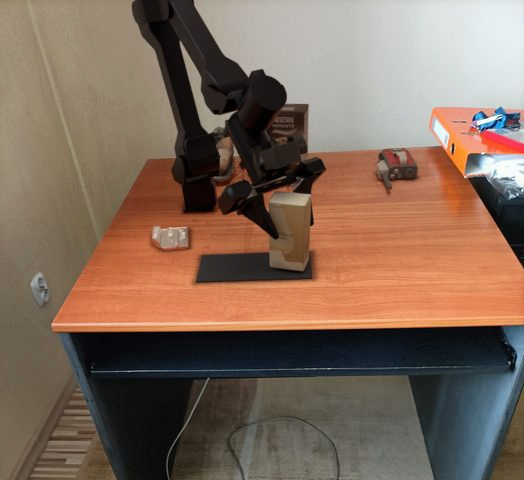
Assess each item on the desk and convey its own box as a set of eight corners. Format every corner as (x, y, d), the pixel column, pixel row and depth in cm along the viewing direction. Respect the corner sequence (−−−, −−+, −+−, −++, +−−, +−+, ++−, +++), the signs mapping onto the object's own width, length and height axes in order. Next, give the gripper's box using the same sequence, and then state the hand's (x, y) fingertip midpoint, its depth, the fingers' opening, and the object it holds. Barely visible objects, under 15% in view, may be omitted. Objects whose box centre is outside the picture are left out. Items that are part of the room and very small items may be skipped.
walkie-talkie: (369, 160, 127) (384, 194, 111) (371, 142, 124) (386, 174, 108) (405, 158, 126) (425, 192, 111) (408, 140, 123) (428, 172, 108)
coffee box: (265, 185, 119) (261, 111, 108) (271, 174, 124) (267, 102, 113) (304, 186, 117) (304, 111, 106) (308, 175, 122) (309, 102, 111)
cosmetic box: (269, 267, 89) (265, 201, 81) (275, 255, 92) (273, 190, 84) (305, 272, 88) (305, 205, 80) (311, 259, 91) (311, 193, 83)
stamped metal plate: (154, 232, 104) (153, 226, 103) (188, 229, 104) (187, 222, 103) (151, 252, 98) (150, 245, 97) (188, 248, 98) (187, 241, 97)
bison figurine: (232, 186, 119) (228, 141, 113) (202, 187, 120) (196, 143, 114) (237, 166, 128) (234, 124, 122) (209, 167, 129) (204, 125, 123)
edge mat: (196, 282, 89) (195, 281, 89) (202, 256, 96) (202, 254, 96) (312, 279, 88) (312, 277, 88) (310, 252, 95) (310, 250, 94)
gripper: (219, 132, 74) (266, 231, 74) (321, 105, 81) (363, 194, 81) (199, 170, 84) (241, 257, 84) (291, 142, 91) (329, 222, 91)
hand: (294, 232), depth 85 cm, fingers closed on cosmetic box, 7 cm apart
